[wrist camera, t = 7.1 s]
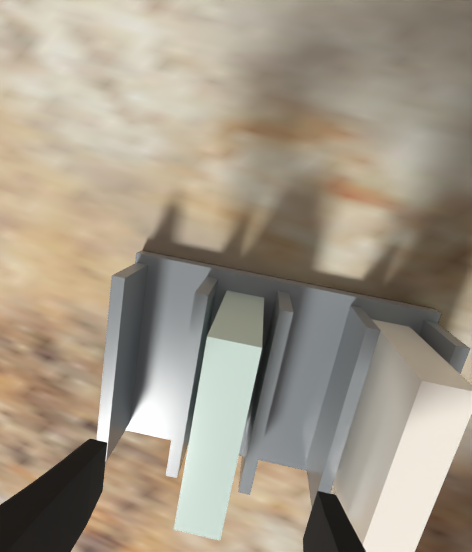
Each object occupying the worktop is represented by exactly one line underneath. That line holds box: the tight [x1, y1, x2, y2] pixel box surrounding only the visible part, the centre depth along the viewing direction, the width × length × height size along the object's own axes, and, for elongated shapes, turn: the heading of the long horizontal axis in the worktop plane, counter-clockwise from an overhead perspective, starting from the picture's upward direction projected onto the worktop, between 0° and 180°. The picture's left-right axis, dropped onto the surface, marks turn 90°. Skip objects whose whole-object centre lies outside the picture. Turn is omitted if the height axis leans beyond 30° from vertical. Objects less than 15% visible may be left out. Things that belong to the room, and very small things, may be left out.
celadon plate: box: [174, 290, 264, 540], centre depth 16 cm, size 9×2×6 cm, turn 170°
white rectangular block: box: [333, 319, 472, 552], centre depth 16 cm, size 9×2×6 cm, turn 170°
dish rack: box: [97, 251, 470, 507], centre depth 18 cm, size 11×16×4 cm
